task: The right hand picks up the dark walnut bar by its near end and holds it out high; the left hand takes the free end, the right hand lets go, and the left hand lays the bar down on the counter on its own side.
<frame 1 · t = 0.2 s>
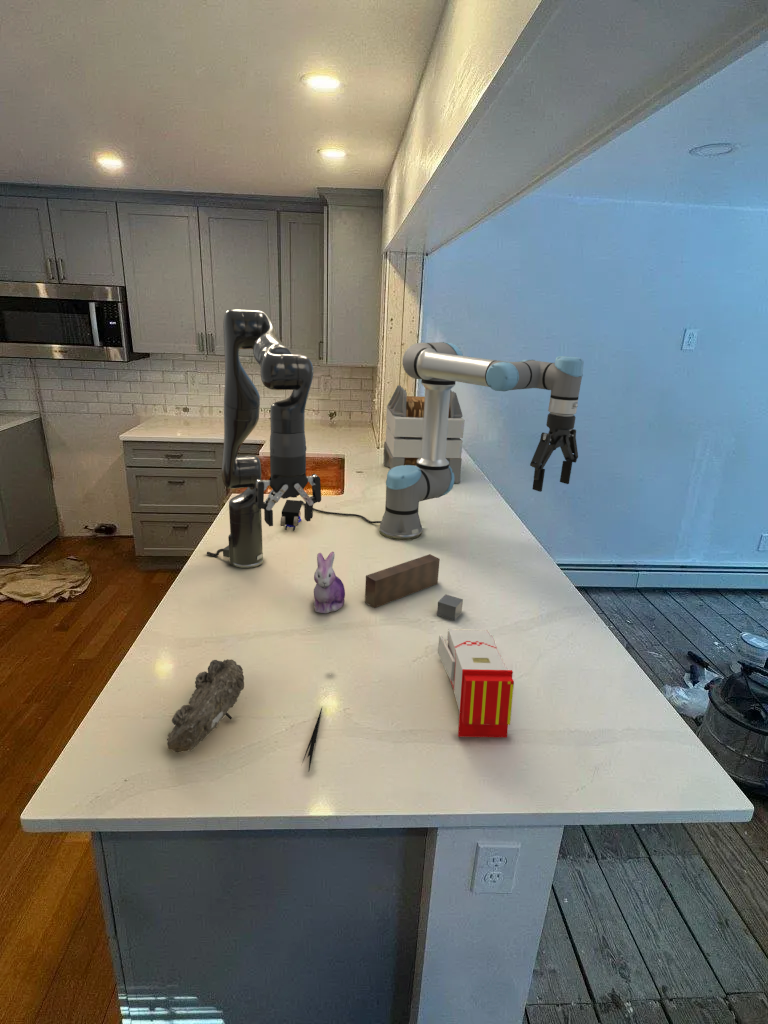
left hand: (288, 522, 126), 29 cm above the counter, fingers open, 8 cm apart
right hand: (551, 486, 166), 28 cm above the counter, fingers open, 13 cm apart
figurine: (328, 606, 150), on the counter
slate block: (449, 613, 149), on the counter
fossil: (212, 717, 108), on the counter
white slatted crate: (419, 473, 275), on the counter
walnut bar: (402, 592, 159), on the counter
feather: (319, 719, 109), on the counter
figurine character: (292, 525, 203), on the counter
toy: (469, 691, 119), on the counter
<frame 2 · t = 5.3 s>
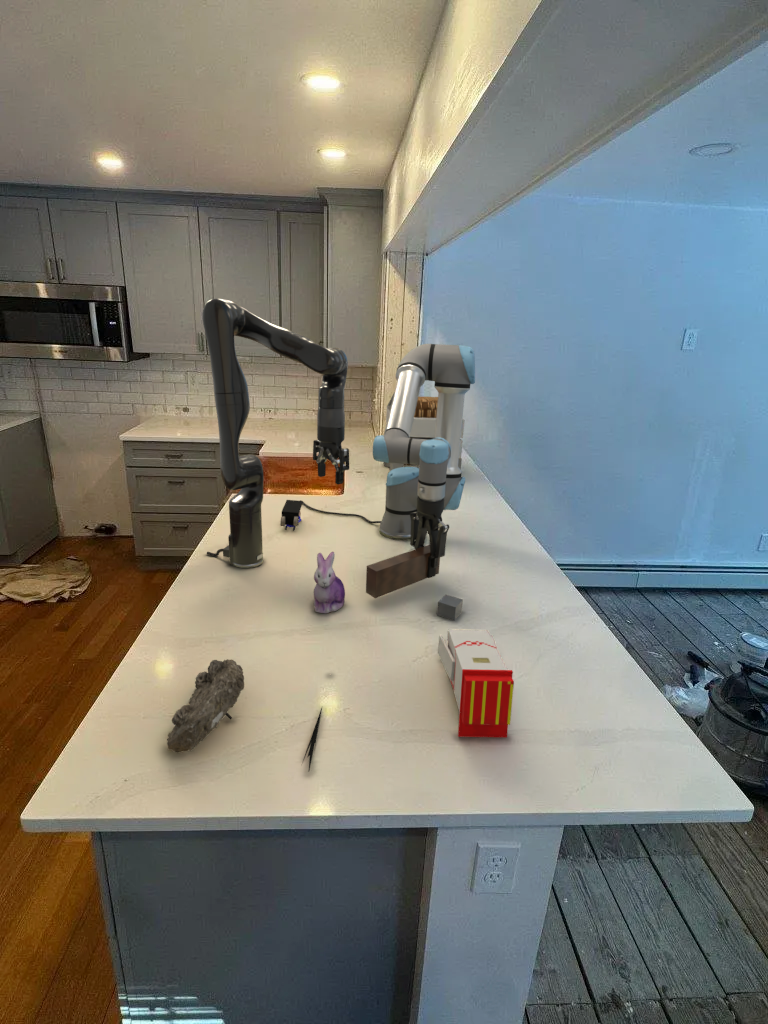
left hand: (330, 480, 161), 28 cm above the counter, fingers open, 8 cm apart
right hand: (425, 573, 163), 3 cm above the counter, fingers closed on walnut bar, 4 cm apart
walnut bar: (403, 582, 158), point 3 cm above the counter, touching right hand
everything else where it was.
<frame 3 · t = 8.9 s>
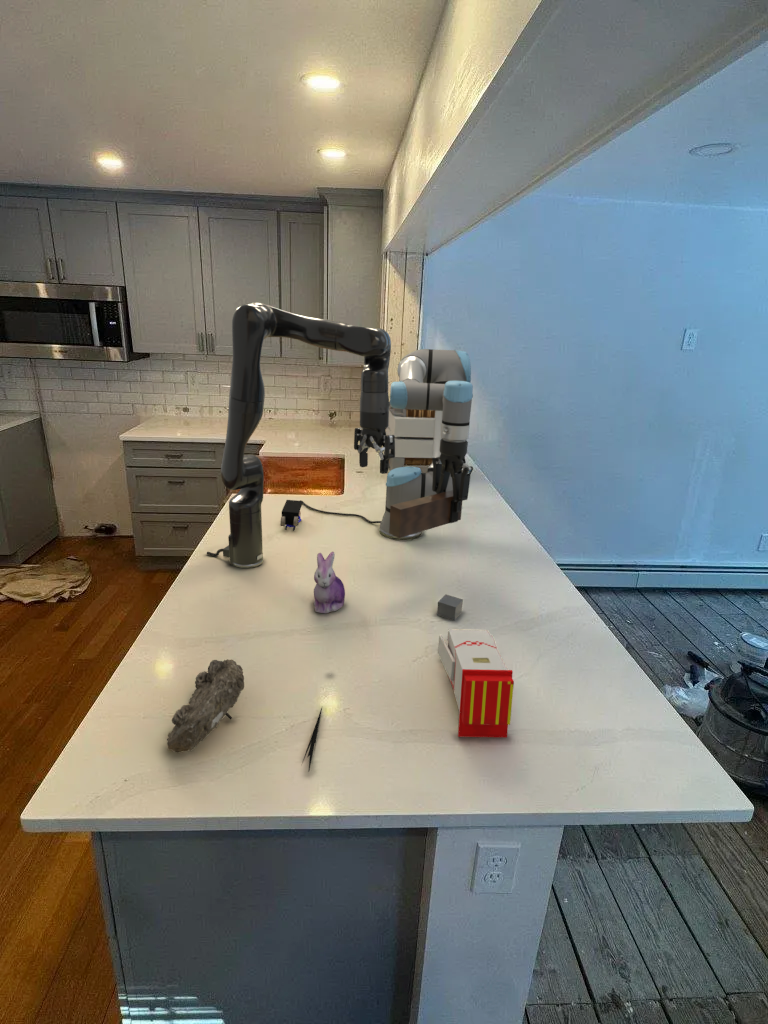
left hand: (373, 469, 152), 34 cm above the counter, fingers open, 8 cm apart
right hand: (447, 519, 162), 19 cm above the counter, fingers closed on walnut bar, 4 cm apart
walnut bar: (426, 526, 157), point 18 cm above the counter, touching right hand
everything else where it was.
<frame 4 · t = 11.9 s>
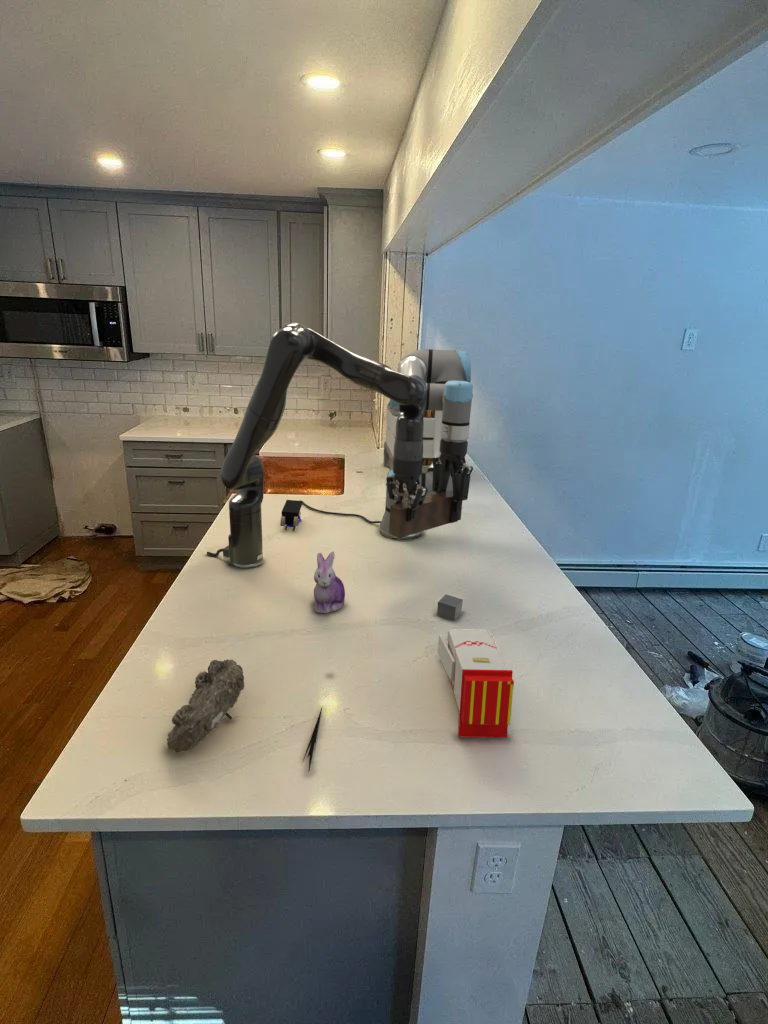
left hand: (404, 518, 150), 22 cm above the counter, fingers closed on walnut bar, 4 cm apart
right hand: (447, 519, 162), 19 cm above the counter, fingers closed on walnut bar, 4 cm apart
walnut bar: (426, 526, 157), point 18 cm above the counter, touching right hand, left hand
everything else where it was.
when the right hand's fingers open (19 cm above the counter, at t = 12.6 s): walnut bar stays where it is, held by the left hand.
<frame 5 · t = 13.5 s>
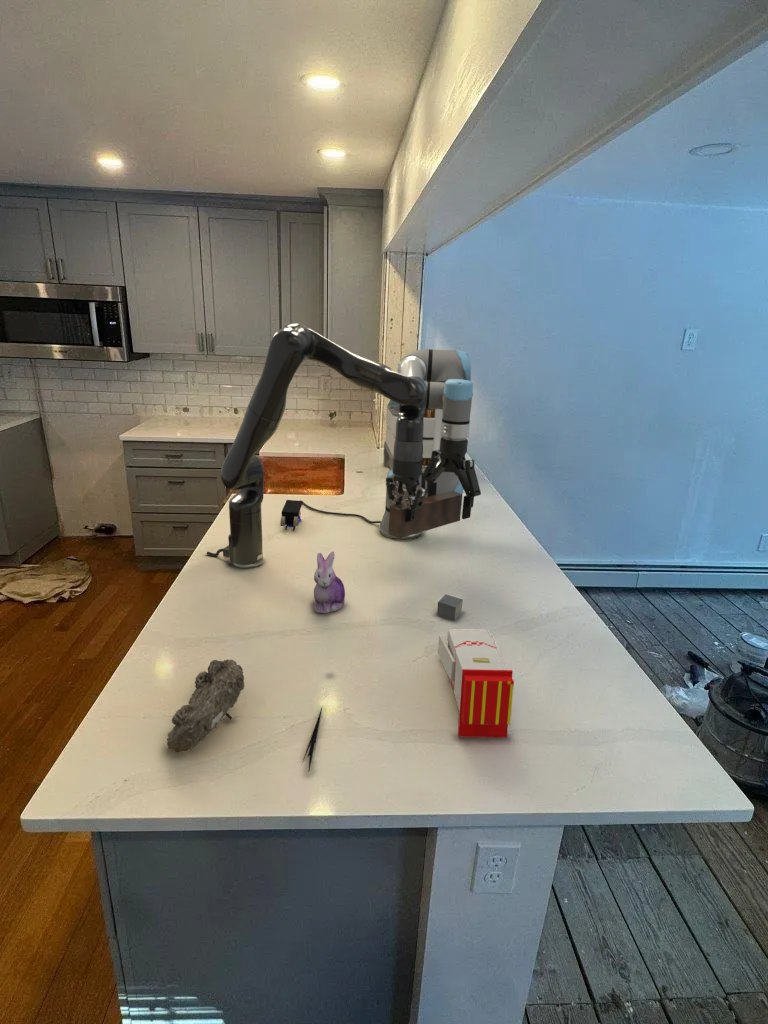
left hand: (403, 519, 151), 22 cm above the counter, fingers closed on walnut bar, 4 cm apart
right hand: (448, 511, 162), 21 cm above the counter, fingers open, 13 cm apart
walnut bar: (425, 527, 157), point 18 cm above the counter, touching left hand
everything else where it was.
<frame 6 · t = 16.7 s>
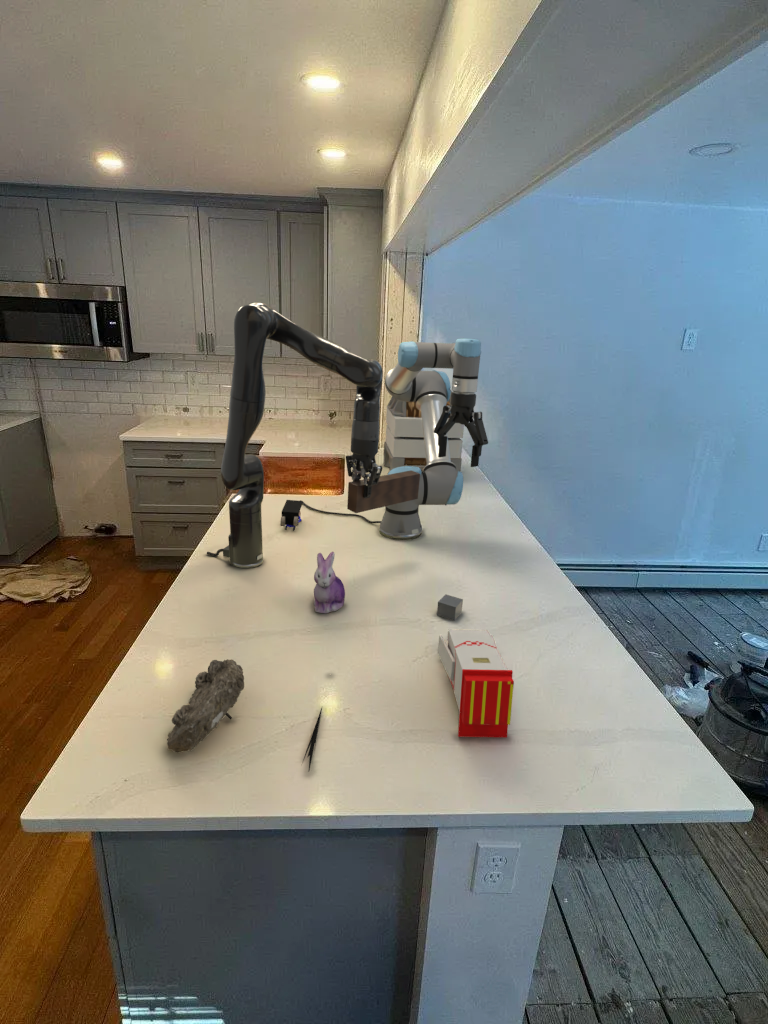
left hand: (361, 495, 160), 25 cm above the counter, fingers closed on walnut bar, 4 cm apart
right hand: (457, 461, 177), 31 cm above the counter, fingers open, 13 cm apart
walnut bar: (383, 503, 166), point 21 cm above the counter, touching left hand
everything else where it was.
when the left hand's fingers open (5 cm above the counter, at t = 22.0 s): walnut bar stays where it is, on the counter.
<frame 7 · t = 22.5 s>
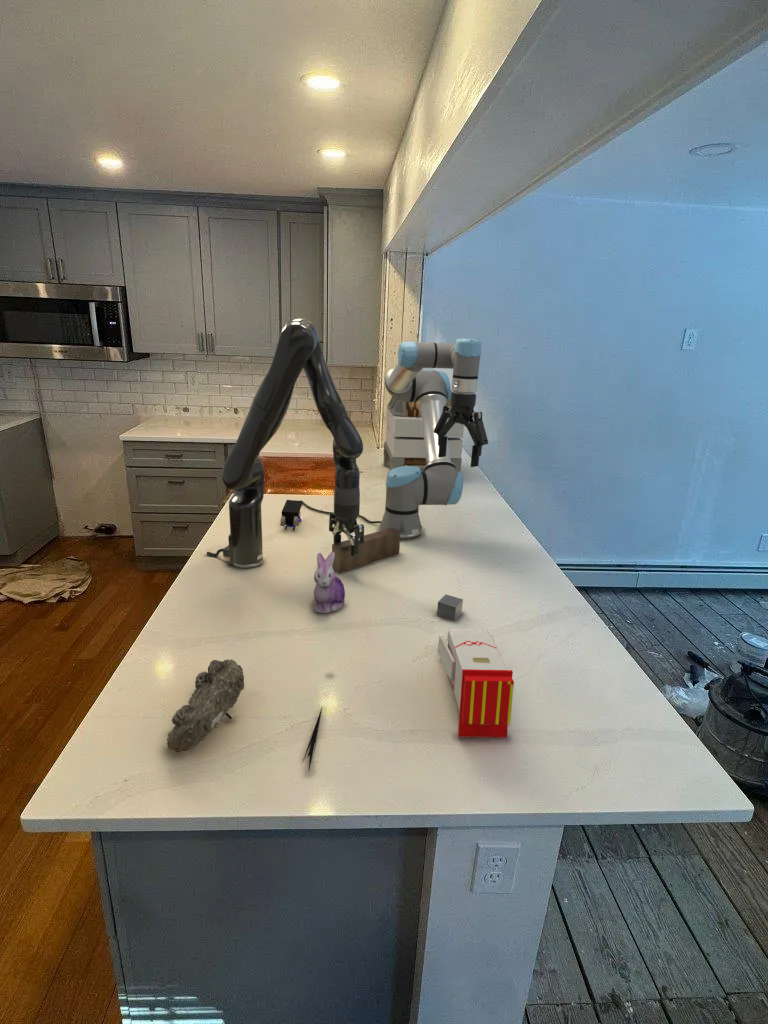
left hand: (345, 551, 170), 6 cm above the counter, fingers open, 8 cm apart
right hand: (457, 461, 177), 31 cm above the counter, fingers open, 13 cm apart
walnut bar: (366, 561, 177), on the counter
everything else where it was.
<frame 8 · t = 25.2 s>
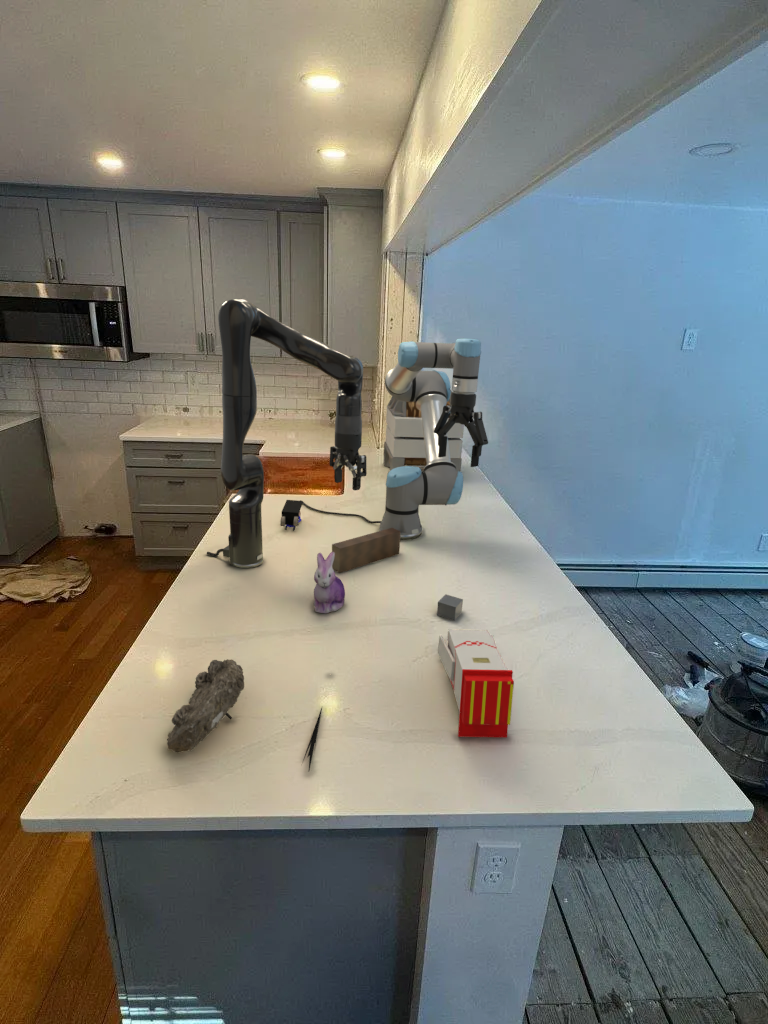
left hand: (347, 485, 163), 26 cm above the counter, fingers open, 8 cm apart
right hand: (457, 461, 177), 31 cm above the counter, fingers open, 13 cm apart
nothing on the counter moved.
at the end: walnut bar inside the target area (0.1 cm from its centre), on the counter; both hands held the walnut bar at the same time; the left hand is holding nothing; the right hand is holding nothing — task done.
